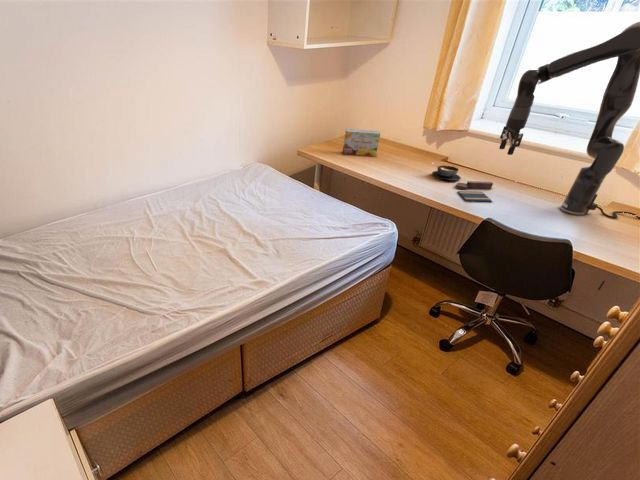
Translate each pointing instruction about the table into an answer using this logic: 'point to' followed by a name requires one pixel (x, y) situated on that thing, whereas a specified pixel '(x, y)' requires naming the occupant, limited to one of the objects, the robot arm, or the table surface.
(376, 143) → the snack box
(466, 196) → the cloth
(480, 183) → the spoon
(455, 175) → the black cup and saucer
